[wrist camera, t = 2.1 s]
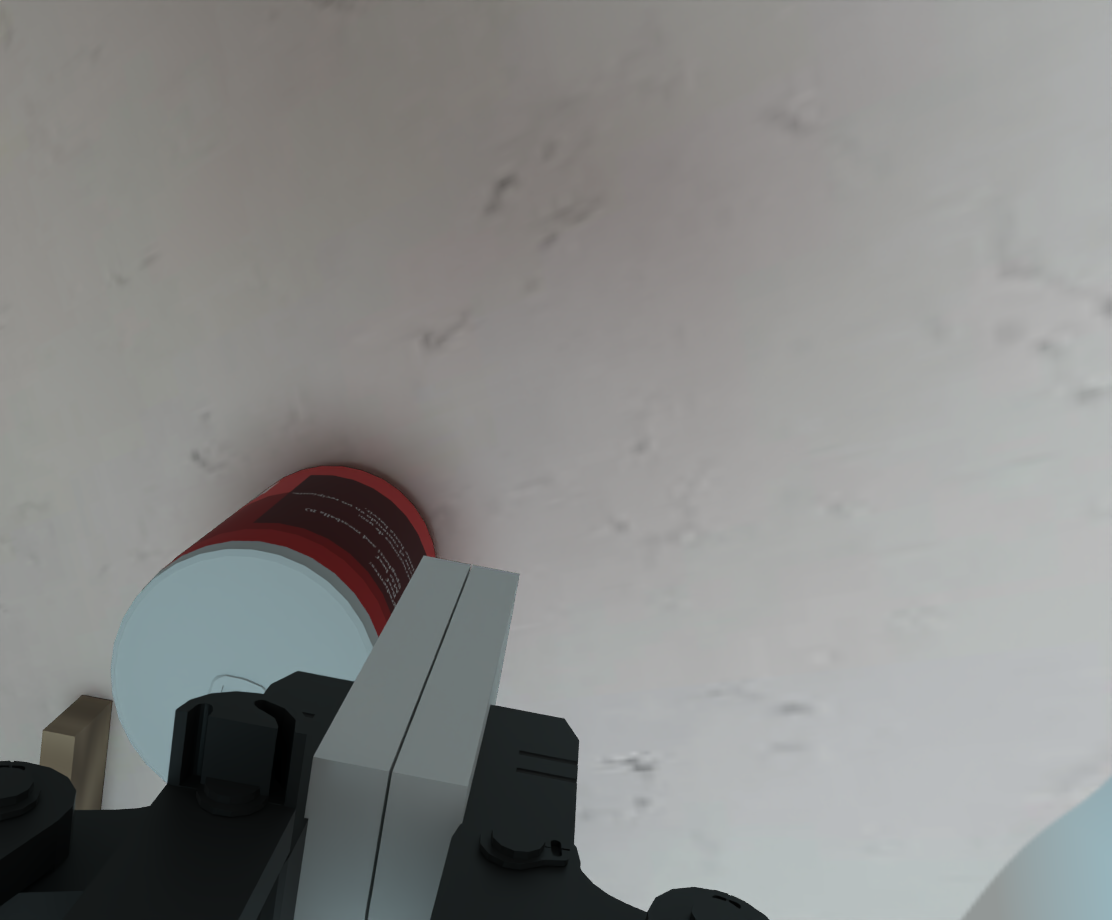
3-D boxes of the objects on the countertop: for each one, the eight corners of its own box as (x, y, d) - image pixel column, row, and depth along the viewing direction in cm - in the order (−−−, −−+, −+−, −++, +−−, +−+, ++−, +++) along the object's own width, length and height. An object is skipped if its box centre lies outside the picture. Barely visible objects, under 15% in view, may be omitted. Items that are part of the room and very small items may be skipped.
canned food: (242, 656, 41) (114, 808, 30) (236, 454, 39) (98, 539, 29) (439, 667, 41) (380, 824, 30) (442, 464, 39) (381, 553, 28)
